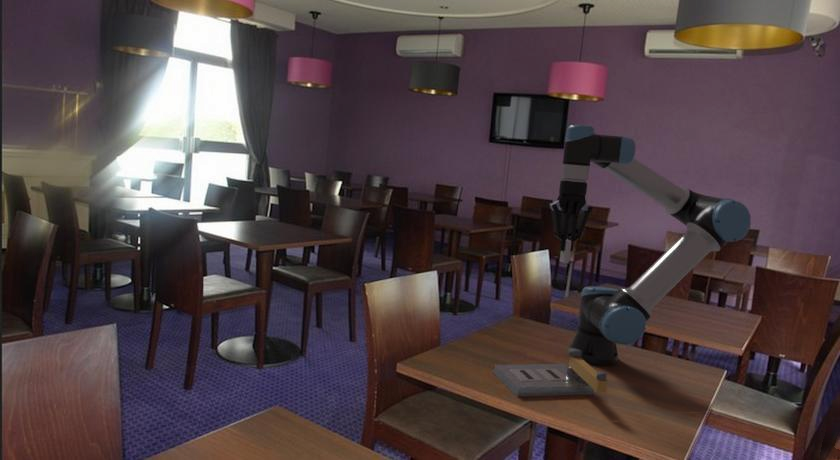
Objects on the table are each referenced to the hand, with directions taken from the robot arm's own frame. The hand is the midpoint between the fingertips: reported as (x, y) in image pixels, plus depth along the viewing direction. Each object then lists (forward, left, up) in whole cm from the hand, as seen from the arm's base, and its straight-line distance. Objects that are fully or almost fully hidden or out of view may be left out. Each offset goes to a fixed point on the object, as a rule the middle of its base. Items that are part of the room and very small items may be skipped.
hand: (564, 262), depth 173 cm
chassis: (+8, +10, -32) cm, 35 cm away
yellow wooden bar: (0, +18, -27) cm, 33 cm away
